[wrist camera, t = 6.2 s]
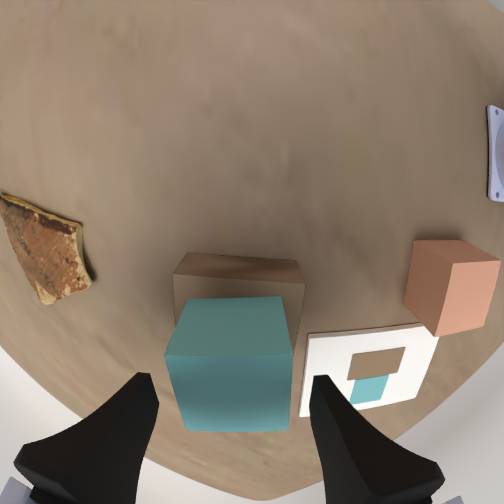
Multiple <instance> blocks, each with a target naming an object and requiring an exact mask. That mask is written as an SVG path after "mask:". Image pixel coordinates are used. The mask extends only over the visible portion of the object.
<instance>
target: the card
mask: <svg viewBox="0 0 504 504" xmlns="http://www.w3.org/2000/svg"><path fill="white" fill-rule="evenodd" d="M438 339H439V336H438V337H433V335H432V334H431V333H430V332H429V331H428V330H427V329H426V328H425V326H424V325H423V324H422V323H414V324H407V325H399V326H392V327H383V328H374V329H365V330H354V331H343V332H330V333H315V334H308V340H307V350H306V359H305V368H304V376H303V384H302V392H301V399H300V407H299V417H306V416H310V412H309V401H310V395H311V389H312V383H313V376H314V375H325V374H327V375H329V376H330V378H331V379H332V381H333V382H334V383H335V385H336V386H337V387H338V389H339V390H340V391H341V393H342V394H343V395H344V396H345V398H346V399H347V400H348V401H349V402H350V403H351V404H352V406H353V407H354V408H355V409H356V410H361V409H366V408H372V407H377V406H382V405H387V404H391V403H396V402H400V401H405V400H409V399H413V398H415V397H416V395H417V392H418V390H419V388H420V386H421V383H422V381H423V379H424V376H425V374H426V371H427V369H428V366H429V364H430V361H431V358H432V356H433V353H434V350H435V347H436V344H437V342H438Z"/></svg>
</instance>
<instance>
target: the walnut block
mask: <svg viewBox="0 0 504 504" xmlns="http://www.w3.org/2000/svg"><path fill="white" fill-rule="evenodd" d="M305 288H306V283H305V280H304V278H303V276H302V273H301V271H300V269H299V266H298V264H297V262H296V261H294V260H280V259H266V258H252V257H239V256H225V255H212V254H199V253H187V254H186V256H185V257H184V259H183V260H182V262H181V263H180V264H179V266H178V267H177V269H176V270H175V272H174V273H173V290H174V314H175V328H176V325H177V323H178V321H179V318H180V316H181V314H182V311H183V309H184V307H185V304H186V302H187V300H188V299H218V298H250V297H274V296H281V298H282V303H283V308H284V312H285V317H286V322H287V327H288V332H289V337H290V342H291V346H292V351H293V354H294V349H295V344H296V339H297V334H298V328H299V323H300V317H301V311H302V306H303V300H304V294H305Z"/></svg>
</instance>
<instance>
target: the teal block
mask: <svg viewBox="0 0 504 504" xmlns="http://www.w3.org/2000/svg"><path fill="white" fill-rule="evenodd" d="M164 357H165V361H166V365H167V368H168V372H169V376H170V379H171V383H172V386H173V389H174V393H175V396H176V399H177V402H178V406H179V409H180V412H181V415H182V418H183V421H184V424H185V427H186V430H194V431H215V432H258V431H278V430H288V428H289V415H290V400H291V383H292V363H293V351H292V346H291V342H290V337H289V332H288V327H287V322H286V317H285V312H284V308H283V303H282V298H281V296H274V297H250V298H218V299H188V300H187V302H186V304H185V307H184V309H183V311H182V314H181V316H180V318H179V321H178V323H177V325H176V328H175V330H174V332H173V335H172V337H171V340H170V342H169V344H168V347H167V349H166V352H165V354H164Z"/></svg>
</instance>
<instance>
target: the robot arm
mask: <svg viewBox="0 0 504 504" xmlns="http://www.w3.org/2000/svg"><path fill="white" fill-rule="evenodd" d="M487 112H488V126H489V187H488V197H489V199H490V200H493V201H499V202H504V110H502V109H500V108H498V107H495V106H493V105H489V106H488V107H487ZM495 112H496V113H495ZM158 408H159V401H158V398H157V395H156V392H155V389H154V385H153V382H152V379H151V375H150V373H141V372H137V373H136V374H135V375H134V376H133V377H132V378H131V379H130V380H129V381H128V382H127V383H126V384H125V385H124V386H123V387H122V388H121V389H120V390H119V391H118V392H116V393H115V394H114V395H113V396H112V397H111V398H110V399H109V400H108V401H107V402H105V403H104V404H103V405H102V406H101V407H99V408H98V409H97V410H96V411H94V412H93V413H92V414H90V415H89V416H88V417H86V418H84V419H83V420H81V421H80V422H78V423H77V424H75V425H73V426H71V427H69V428H68V429H66V430H64V431H62V432H60V433H57V434H55V435H53V436H50V437H48V438H45V439H42V440H39V441H36V442H31V443H28V444H24V445H23V447H22V448H21V450H20V452H19V453H18V455H17V457H16V459H15V461H14V466H15V467H16V469H17V470H18V471H19V472H20V473H21V474H22V475H23V476H24V477H25V478H26V479H27V480H28V481H29V482H31V483H32V484H33V485H34V487H33V489H32V490H31V489H30V488H29V487H27V486H26V485H24V484H22V483H21V482H19V481H18V480H16V479H14V478H13V477H10V478H9V480H8V482H7V484H6V486H5V487H4V489H3V491H2V493H1V496H0V504H135V502H136V493H137V486H138V479H139V474H140V469H141V464H142V461H143V457H144V454H145V451H146V449H147V446H148V443H149V440H150V437H151V434H152V431H153V428H154V425H155V422H156V418H157V413H158ZM309 412H310V420H311V426H312V430H313V434H314V438H315V442H316V446H317V449H318V453H319V457H320V461H321V465H322V470H323V478H324V485H325V494H326V504H432V499H431V495H432V494H434V493H435V492H436V491H437V490H438V489H439V488H440V487H441V485H443V483H444V481H445V478H444V476H443V473H442V471H441V469H440V467H439V466H438V464H437V463H436V462H434V461H431V460H429V459H426V458H424V457H421V456H419V455H417V454H415V453H412V452H410V451H409V450H407V449H405V448H403V447H402V446H400V445H398V444H397V443H395V442H394V441H392V440H390V439H389V438H388V437H386V436H385V435H384V434H382V433H381V432H380V431H378V430H377V429H376V428H375V427H374V426H372V425H371V424H370V423H369V422H368V421H367V420H366V419H365V418H364V417H363V416H362V415H361V414H360V413H359V412H358V411H357V410H356V409H355V408H354V407H353V406H352V404H351V403H350V402H349V401H348V400H347V399H346V398H345V396H344V395H343V394H342V393H341V391H340V390H339V389H338V387H337V386H336V385H335V383H334V382H333V381H332V379H331V378H330V376H329V375H327V374H325V375H314V376H313V383H312V389H311V395H310V401H309ZM443 504H464V503H463V501H462V499H461V497H460V496H457V497H455V498H453V499H451V500H449V501H447V502H445V503H443Z"/></svg>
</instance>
